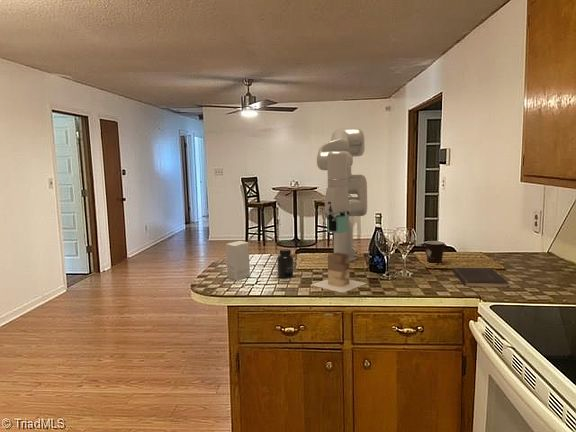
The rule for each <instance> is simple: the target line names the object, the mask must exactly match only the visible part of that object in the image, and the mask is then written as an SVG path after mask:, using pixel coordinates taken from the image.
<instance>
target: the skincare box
mask: <svg viewBox="0 0 576 432" xmlns="http://www.w3.org/2000/svg"><path fill="white" fill-rule="evenodd" d="M249 245H250V242H248V241H243V240H238V241H232V242H229V243H225V249H226V253H225V254H226V269H227V270H226V271H227V279H229V280H233V281H238V280H243V279H246V278H249V277H250V276H251V271H250V270H251V268H250V267H251V265H250V246H249Z"/></svg>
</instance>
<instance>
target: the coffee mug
mask: <svg viewBox="0 0 576 432" xmlns="http://www.w3.org/2000/svg"><path fill="white" fill-rule="evenodd" d="M422 249H423V251H424V253H425V254H426V262H429V263H438V264H439V263H442V262H443V256H444V249H445V242H444V241H440V240H439V241H438V240H427V241H425V242H424V243H423V244H422Z"/></svg>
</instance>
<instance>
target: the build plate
mask: <svg viewBox="0 0 576 432" xmlns="http://www.w3.org/2000/svg"><path fill="white" fill-rule="evenodd" d="M367 284H368V282H364V281H358V280H353V279H350V278H349V284H347V285H345V286H342V287H337V286H333V285H329V284H328V278H327V279H324V280H322V281H321V280H320V281H318V282H314V283H312V284H310V286H314V287H318V288H321V289H324V290H330V291H334V292H339V293H341V294H342V293H346V292H348V291H350V290H354V289H357V288H359V287H361V286H363V285H364V286H365V285H367Z"/></svg>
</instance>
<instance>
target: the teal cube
mask: <svg viewBox="0 0 576 432" xmlns="http://www.w3.org/2000/svg"><path fill="white" fill-rule="evenodd" d="M332 217H333V215H332ZM349 218H350V216H342V215H336V218H335V221H336V231H329V221H328V218H327V217H326V226H327V227H326V229H327V230H326V233H332V234H334V233H343V232H348V231H349V220H350V219H349Z"/></svg>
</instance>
